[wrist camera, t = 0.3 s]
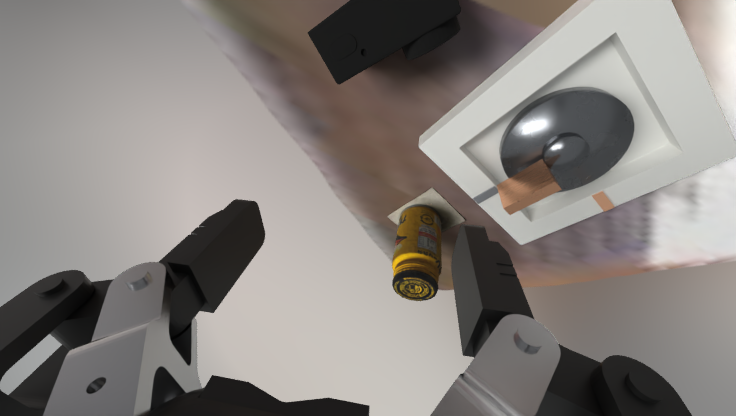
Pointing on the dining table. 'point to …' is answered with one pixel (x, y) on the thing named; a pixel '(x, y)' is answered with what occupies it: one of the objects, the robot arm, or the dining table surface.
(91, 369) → the robot arm
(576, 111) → the dial
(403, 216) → the condiment
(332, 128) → the dining table surface
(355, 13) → the digital camera
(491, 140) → the panel
